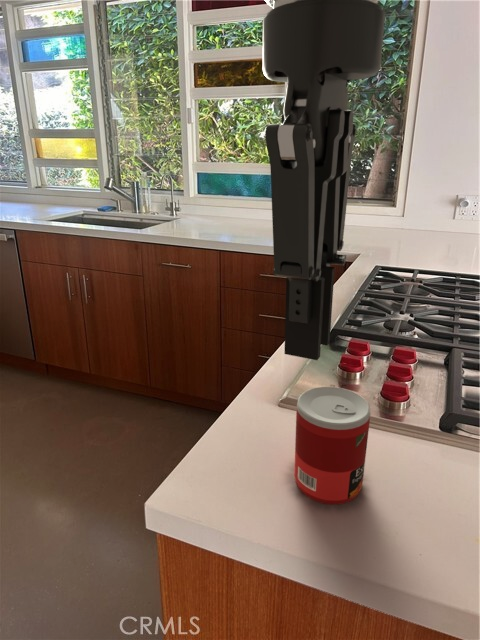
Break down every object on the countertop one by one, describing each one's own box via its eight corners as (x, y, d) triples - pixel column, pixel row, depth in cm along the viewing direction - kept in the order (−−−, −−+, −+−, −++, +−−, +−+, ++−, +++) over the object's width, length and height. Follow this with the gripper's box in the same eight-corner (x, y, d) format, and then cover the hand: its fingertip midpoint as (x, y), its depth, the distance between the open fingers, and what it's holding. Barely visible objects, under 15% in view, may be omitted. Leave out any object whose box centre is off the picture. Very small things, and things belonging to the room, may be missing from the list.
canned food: (364, 511, 51) (373, 427, 47) (291, 502, 52) (294, 420, 48) (359, 464, 58) (368, 388, 54) (295, 458, 59) (298, 383, 55)
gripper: (303, 33, 37) (294, 310, 46) (211, -15, 24) (224, 381, 33) (402, 23, 34) (371, 321, 43) (357, -37, 21) (327, 405, 30)
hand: (307, 347), depth 38 cm, fingers open, 2 cm apart
